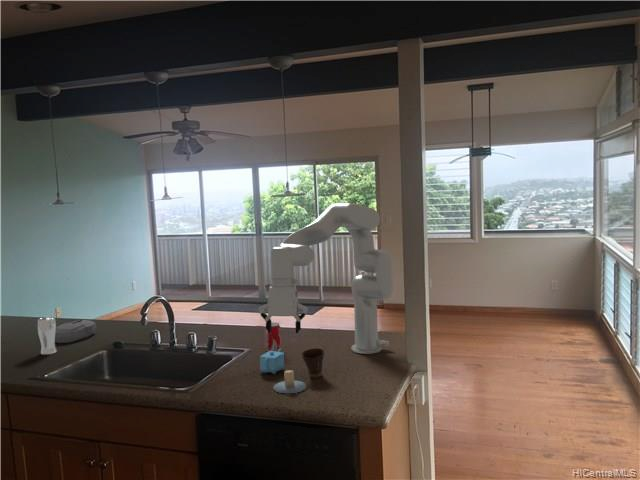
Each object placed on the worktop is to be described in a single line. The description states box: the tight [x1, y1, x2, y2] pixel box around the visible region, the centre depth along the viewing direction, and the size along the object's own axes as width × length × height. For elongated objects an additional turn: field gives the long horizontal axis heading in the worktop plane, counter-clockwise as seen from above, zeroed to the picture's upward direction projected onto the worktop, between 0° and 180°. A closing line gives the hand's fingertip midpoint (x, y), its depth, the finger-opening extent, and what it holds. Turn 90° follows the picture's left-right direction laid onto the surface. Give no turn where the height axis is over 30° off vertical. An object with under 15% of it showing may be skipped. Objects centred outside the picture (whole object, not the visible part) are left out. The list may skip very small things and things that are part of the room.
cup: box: [301, 348, 325, 379], centre depth 179 cm, size 8×8×9 cm
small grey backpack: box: [55, 319, 97, 344], centre depth 239 cm, size 15×8×20 cm
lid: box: [273, 369, 307, 394], centre depth 169 cm, size 11×11×6 cm
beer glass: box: [37, 316, 58, 356], centre depth 216 cm, size 7×7×15 cm
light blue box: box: [259, 348, 285, 375], centre depth 187 cm, size 12×6×8 cm, turn 156°
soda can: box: [263, 322, 283, 353], centre depth 209 cm, size 7×7×12 cm
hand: (283, 332), depth 172 cm, fingers open, 9 cm apart
